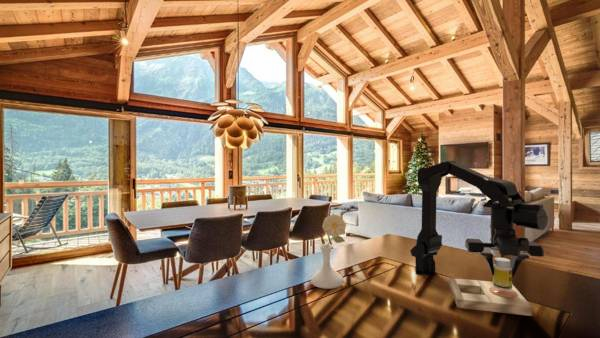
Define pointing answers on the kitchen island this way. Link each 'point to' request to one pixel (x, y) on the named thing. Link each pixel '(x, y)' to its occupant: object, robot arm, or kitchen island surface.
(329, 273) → the flower in vase
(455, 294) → the pocket board
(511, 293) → the coaster
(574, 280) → the kitchen island surface
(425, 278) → the kitchen island surface
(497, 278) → the supplement bottle
